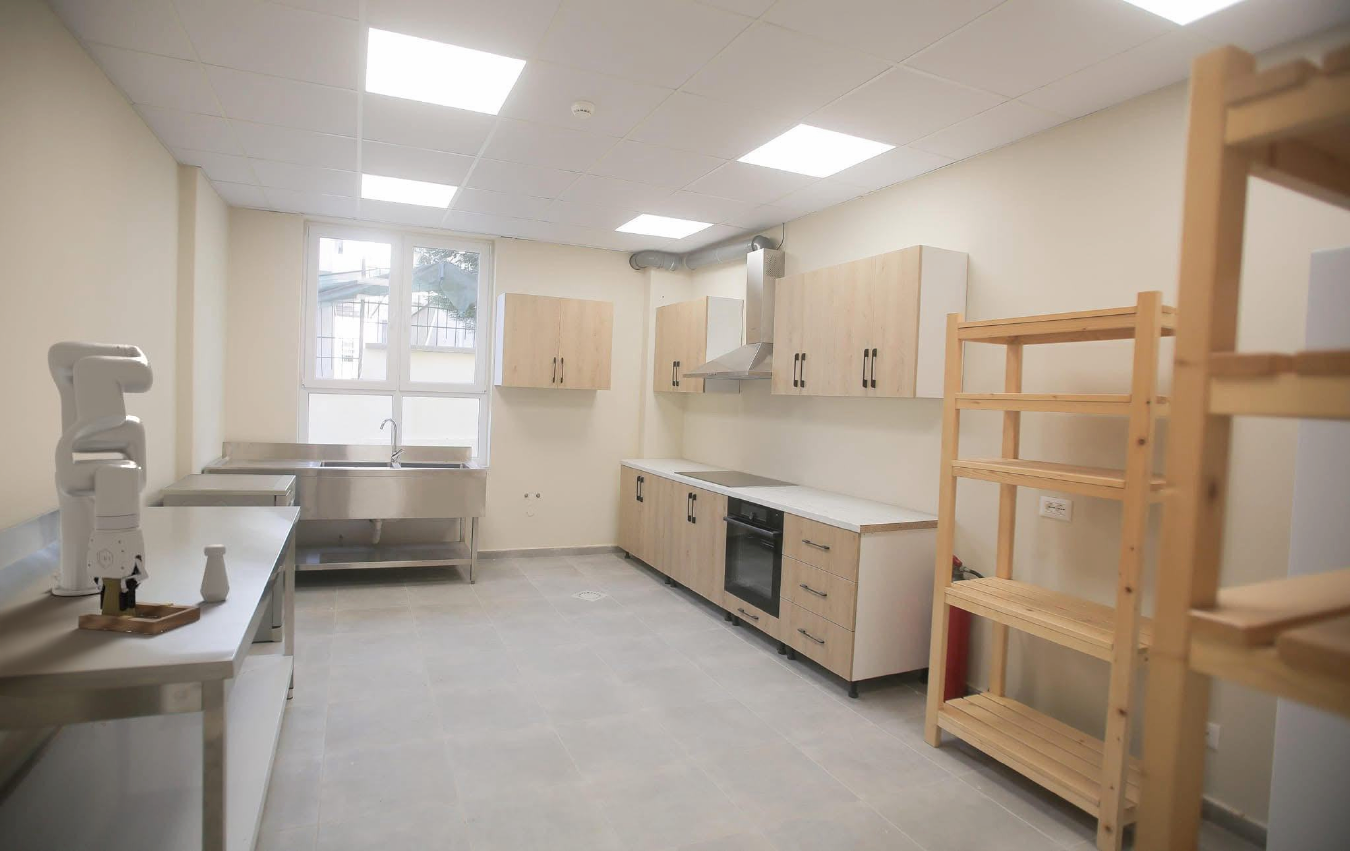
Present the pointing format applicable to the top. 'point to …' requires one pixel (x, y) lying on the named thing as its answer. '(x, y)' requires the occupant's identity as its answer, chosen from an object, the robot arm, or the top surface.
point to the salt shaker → (215, 575)
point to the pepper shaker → (114, 599)
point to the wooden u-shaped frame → (168, 611)
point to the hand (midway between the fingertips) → (118, 607)
